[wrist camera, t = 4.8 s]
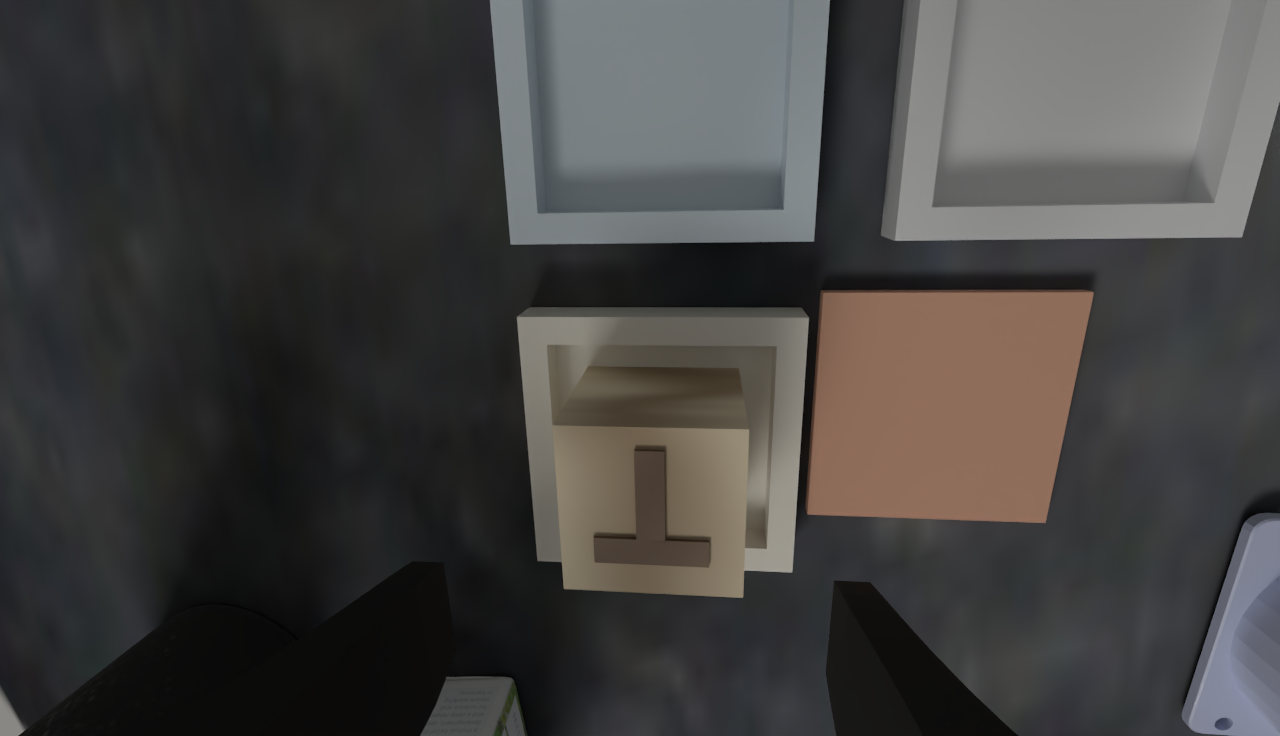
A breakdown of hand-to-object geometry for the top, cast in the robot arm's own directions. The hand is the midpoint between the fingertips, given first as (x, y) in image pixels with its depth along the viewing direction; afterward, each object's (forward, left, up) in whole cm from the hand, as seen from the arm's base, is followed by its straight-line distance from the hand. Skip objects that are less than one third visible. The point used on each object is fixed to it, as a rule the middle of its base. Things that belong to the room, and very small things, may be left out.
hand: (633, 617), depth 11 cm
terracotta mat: (-8, -1, -8) cm, 12 cm away
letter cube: (0, 0, -8) cm, 8 cm away
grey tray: (-10, -10, -8) cm, 16 cm away
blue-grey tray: (0, -10, -8) cm, 13 cm away
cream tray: (0, 0, -8) cm, 8 cm away
